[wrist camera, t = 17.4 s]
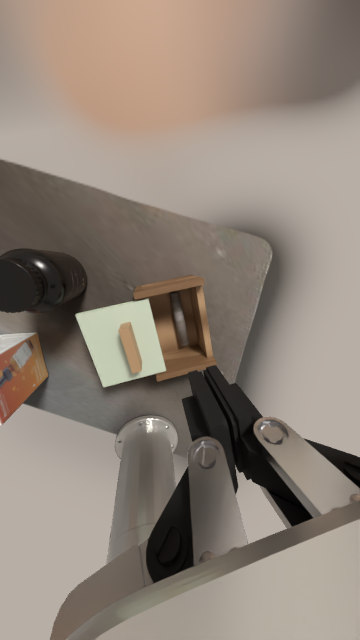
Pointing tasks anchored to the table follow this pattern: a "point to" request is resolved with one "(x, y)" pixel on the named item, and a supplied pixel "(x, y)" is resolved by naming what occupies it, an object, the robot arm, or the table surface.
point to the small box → (19, 370)
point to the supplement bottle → (38, 280)
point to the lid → (122, 341)
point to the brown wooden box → (180, 324)
